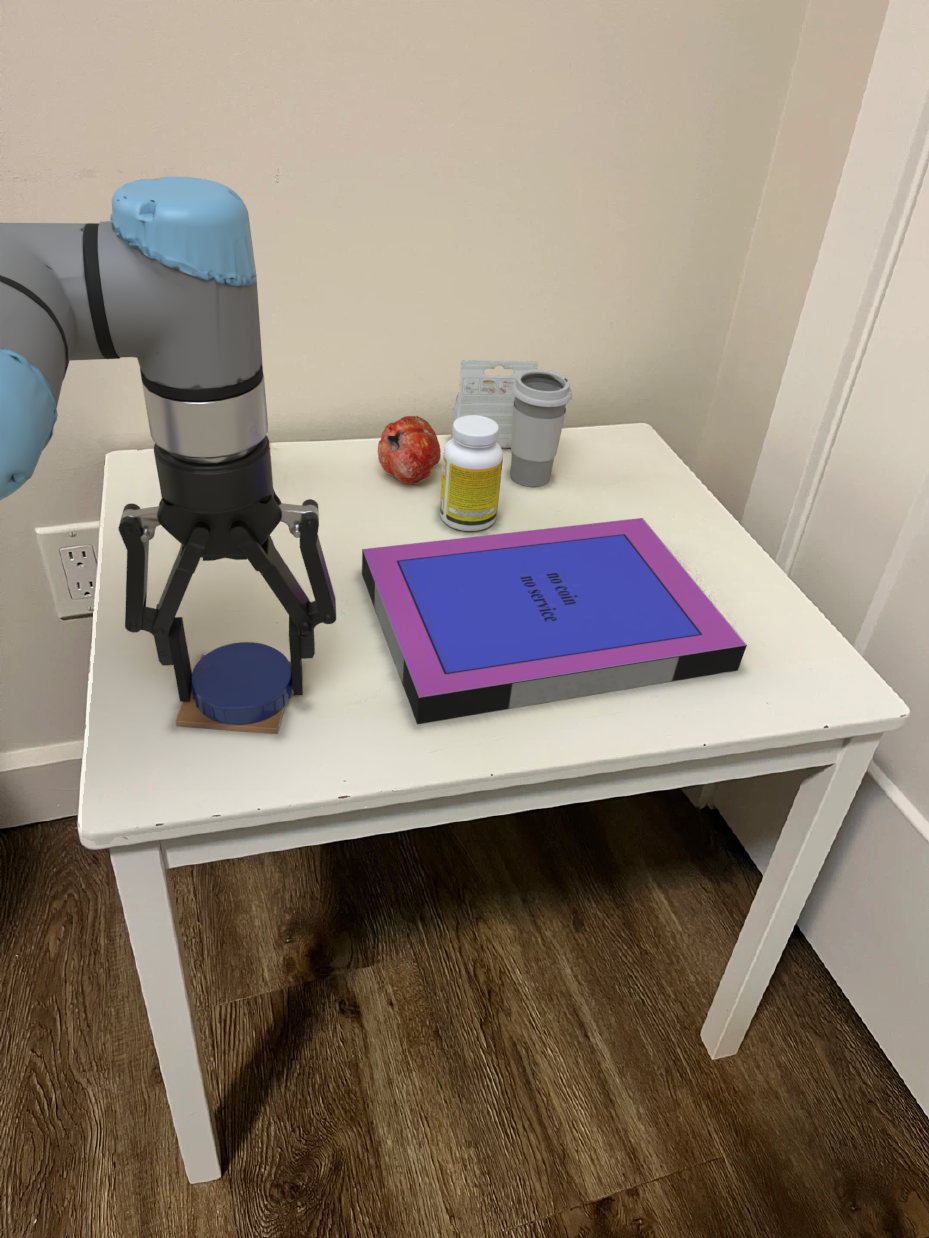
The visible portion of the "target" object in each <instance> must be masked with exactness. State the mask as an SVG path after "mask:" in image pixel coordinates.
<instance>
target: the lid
mask: <svg viewBox="0 0 929 1238" xmlns="http://www.w3.org/2000/svg"><path fill="white" fill-rule="evenodd" d="M204 655H205V656H203V657H202V658H201V657H200V658H201V659H198V661H197V662H196V664H195V665H194V668H193V669H192V677H191V681H192V687H191V689H192V695H193V699H194V700H195V703H196V707H198V709H199V710H200V711H201V712H202V713H203V715H205V716H207V717H208V718H210V719H212V720H214V721H217V722H220V723H224V724H231V725H246V724H252V723H257V722H260V721H263V720H266V719H268V718H270V717H272V716H274V715H275V714H277V713H278V712H279V711H281V710H282V709H283V708H284V707H285V708H286V706H287V704H288V703H289V701H290V699H292V695H293V684H292V671H291V665H290V663H289V662H290V661H289V659H288V658H287V657H286V656H285V654H284V653H283V652H281V650H278V649H277V648H275V647H273V646H270V645H268V644H264V643H261V642H253V641H241V642H240V641H239V642H233V643H228V644H225V645H221V646H219V647H216V648H214V649H212V650H211V651H209V652H207V653H206V654H204ZM285 708H284V709H285Z"/></svg>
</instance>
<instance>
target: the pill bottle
mask: <svg viewBox="0 0 929 1238" xmlns="http://www.w3.org/2000/svg"><path fill="white" fill-rule="evenodd" d="M451 431H452V437H453V438H452V437H451V438H450V440H448V441H447V443H446V444H445V446H444V448H443V454H442V469H441V471H442V472H441V483H440V501H439V502H440V503H439V515H440V518H441V520H442V522H444V524H446V525H447V526H448V527H451V528H452V529H454V530H458V531H462V532H463V531H464V532H477V531H483V530H485V529H488V528H490V527H491V526H493V524H494V523H495V522H496V519H497V515H498V506H499V500H500V499H499V498H500V490H501V489H500V488H501V480H502V471H503V460H504V452H503V448H501V447H500V445H499V444H498V443H497V439H498V431H499V427H498V424H497V423H496V422H495V421H493V420H492V419H489V418H487V417H483V416H478V415H467V416H462V417H459V418H457V419H456V420H455V421H454V423H453V429H452V428H451Z"/></svg>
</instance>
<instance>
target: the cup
mask: <svg viewBox="0 0 929 1238" xmlns="http://www.w3.org/2000/svg"><path fill="white" fill-rule="evenodd" d="M570 386H571V383H570V380H569V379H568V378H567V377H566V376H564V375H563V374H560V373H559V372H556V371H553V370H548V369H541V368H539V369H538V368H537V369H533V370H526V371H523V372H521V373H520V374H519V375H518V376H517V380H516V381H514V383H513V385H512V388H511V391H512V393H513V394H514V396H515V401H514V404H513V421H512V439H511V448H510V450H511V459H510V460H511V461H510V473H509V475H510V478H511V479H512V481H513V482H515V483H516V484H519V485H520V486H524V487H528V488H529V487H530V488H538V487H543V486H545V485H547V484H548V483H549V482H550V480H551V475H552V471H553V465H554V461H555V458H556V456H557V454H558V453H557V452H558V449H559V444H560V440H561V435H562V430H563V426H564V421H565V418H566V417H565V416H566V412H567V408H566V406H567V404H569V403H570V402H571V401H572V400H573V399H572V398H573V392H572V389H571V388H570Z"/></svg>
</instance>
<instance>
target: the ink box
mask: <svg viewBox="0 0 929 1238" xmlns="http://www.w3.org/2000/svg"><path fill="white" fill-rule="evenodd" d="M538 365H539V362H538V361H537V360H536V361H529V360H525V361H522V360H519V361H517V360H475V359H471V360H470V359H468V360H464V359H463V360H461V362H460V375H459V376H460V377H459V390H458V394H456V397H455V401H454V404H453V407H452V414H451V415H452V416H451V430H450V431H451V432H450V433H451V435H450V437H451V439H452V438H453V437H452V429H453V423H454V421H455V420H456V419H457V418H459V417H462V416H467V415H478V416H483V417H487V418H489V419H492V420H493V421H495V422H496V423H497V424H498V427H499V431H498V439H497V443H498V444H499V445H500V447H501V449H509V448H510V449H511V439H512V421H513V404H514V401H515V396H514V394H513V393H512V391H511V388H512V385H513V383H514V381H516V380H517V376H518V375H519V374H520V373H521V372H523V371H526V370H533V369H538ZM498 366H499V367H500V366H501V367H502V368H503V369H504V370H512V371H513V374H511V375H486V373H485V371H486V370H488V369H489V370H495V369H496V368H497V367H498Z"/></svg>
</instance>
